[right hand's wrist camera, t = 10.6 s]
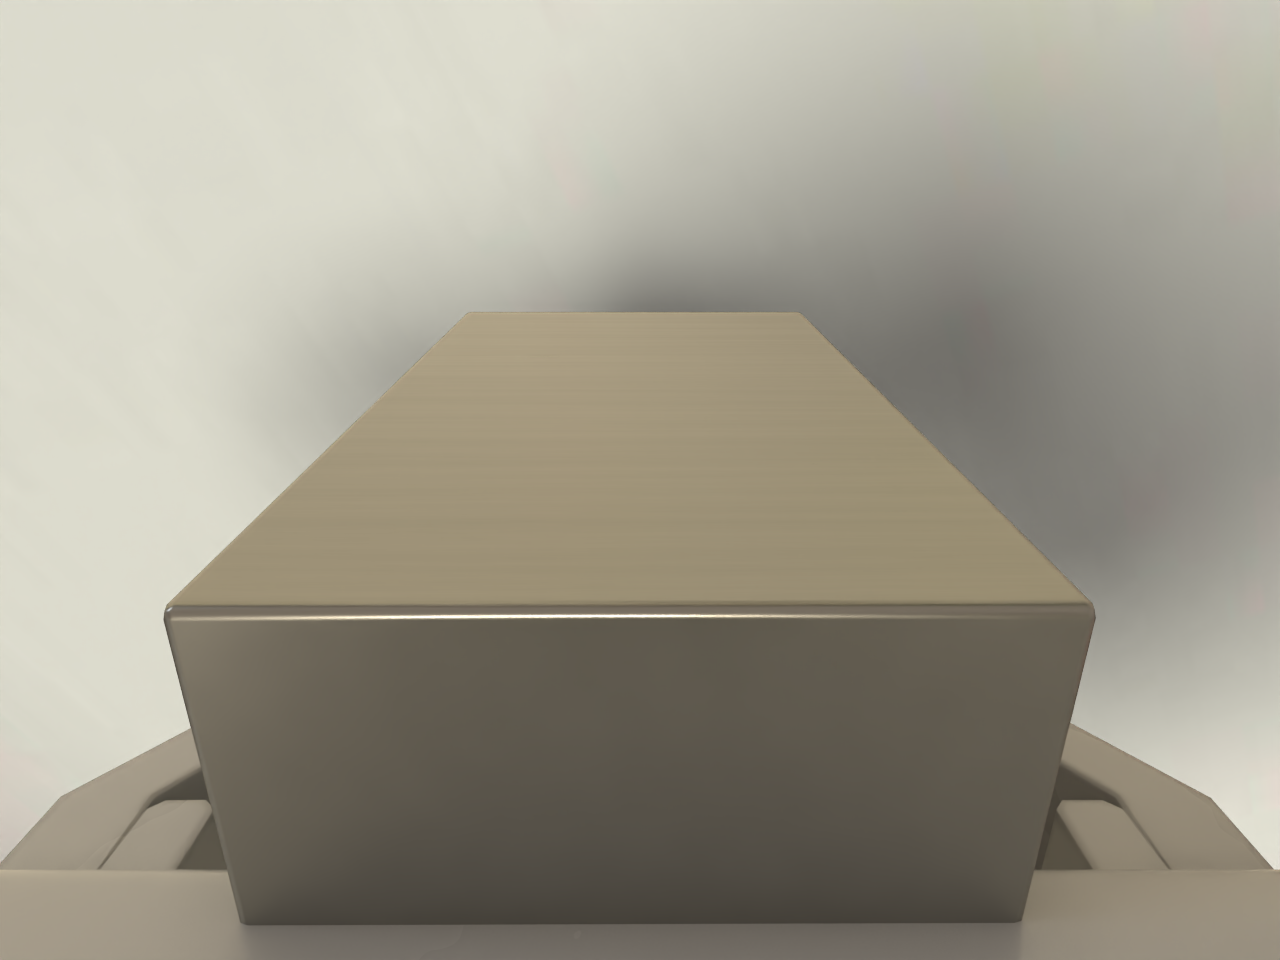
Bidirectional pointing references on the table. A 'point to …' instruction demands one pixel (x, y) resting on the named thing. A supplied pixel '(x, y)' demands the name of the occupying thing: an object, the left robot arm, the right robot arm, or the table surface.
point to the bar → (630, 647)
